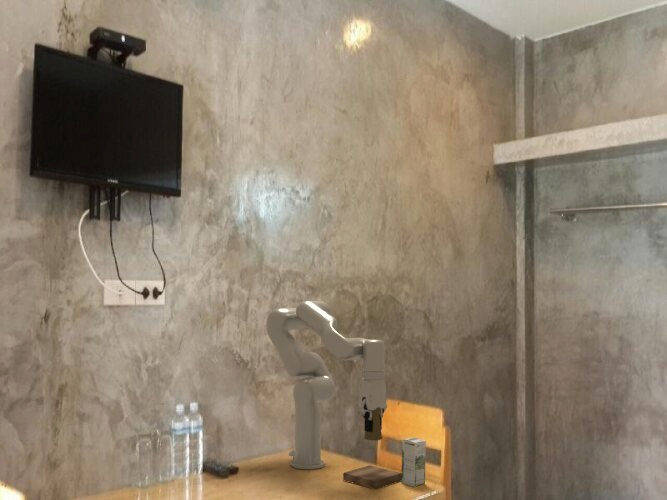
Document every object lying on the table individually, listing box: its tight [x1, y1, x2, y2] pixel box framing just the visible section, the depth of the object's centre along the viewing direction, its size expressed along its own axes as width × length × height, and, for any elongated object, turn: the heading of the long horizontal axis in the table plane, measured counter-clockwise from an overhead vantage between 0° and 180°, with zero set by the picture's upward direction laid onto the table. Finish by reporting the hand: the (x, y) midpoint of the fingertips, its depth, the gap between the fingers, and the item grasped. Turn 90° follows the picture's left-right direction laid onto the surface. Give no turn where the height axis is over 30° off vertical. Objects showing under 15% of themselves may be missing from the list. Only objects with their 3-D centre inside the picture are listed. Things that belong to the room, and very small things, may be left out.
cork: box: [364, 407, 383, 441], centre depth 214 cm, size 6×6×11 cm
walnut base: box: [342, 464, 402, 490], centre depth 212 cm, size 14×14×2 cm
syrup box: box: [400, 437, 427, 487], centre depth 210 cm, size 6×6×14 cm
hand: (373, 429), depth 214 cm, fingers closed on cork, 4 cm apart
